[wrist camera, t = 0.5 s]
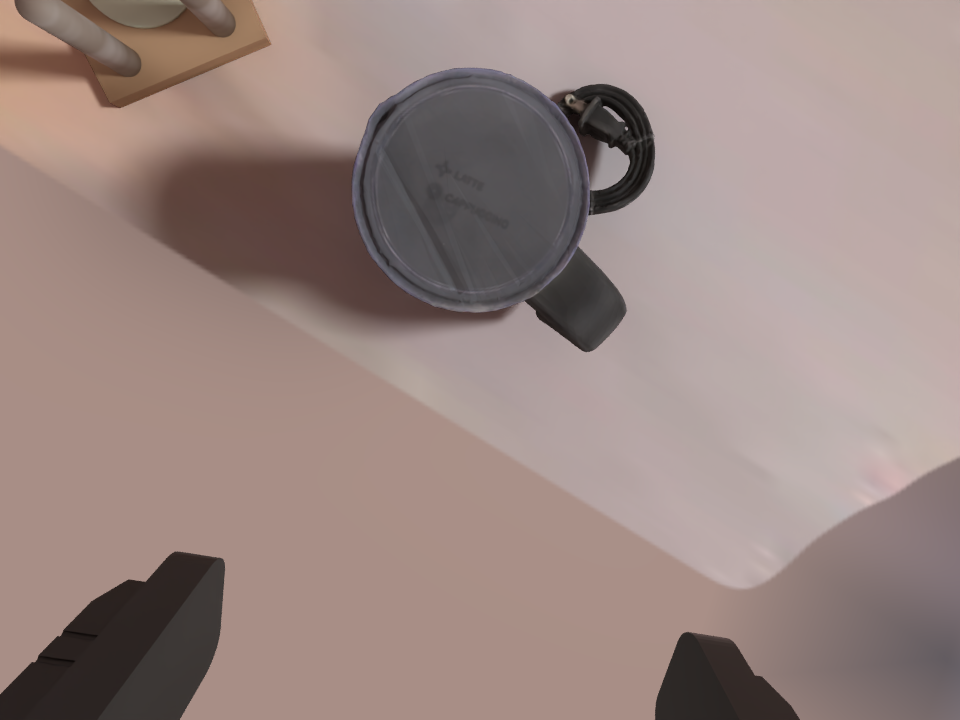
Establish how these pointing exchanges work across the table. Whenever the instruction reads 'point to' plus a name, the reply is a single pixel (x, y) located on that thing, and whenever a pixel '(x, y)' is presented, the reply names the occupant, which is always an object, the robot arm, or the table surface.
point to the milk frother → (497, 195)
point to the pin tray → (150, 38)
